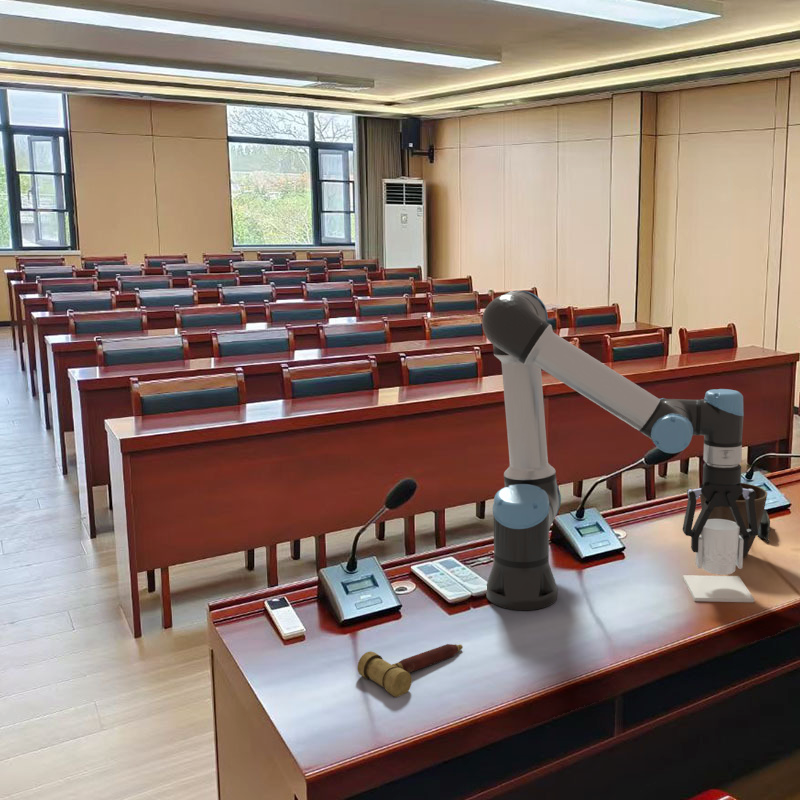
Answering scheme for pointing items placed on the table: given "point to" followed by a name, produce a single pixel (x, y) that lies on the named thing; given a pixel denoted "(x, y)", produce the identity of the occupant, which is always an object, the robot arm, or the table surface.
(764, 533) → the mobile phone
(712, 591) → the tile
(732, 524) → the white cup
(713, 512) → the plant pot
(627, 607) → the table surface
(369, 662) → the gavel
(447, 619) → the table surface
